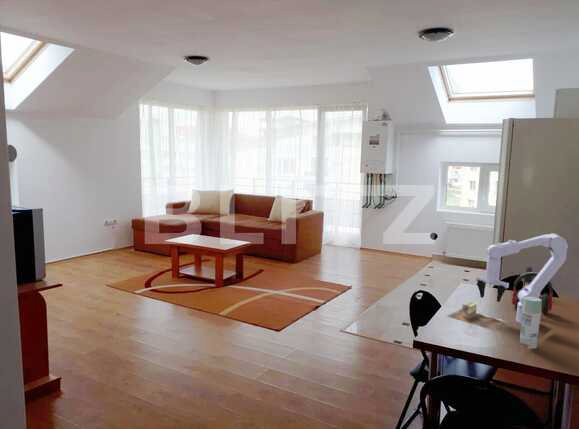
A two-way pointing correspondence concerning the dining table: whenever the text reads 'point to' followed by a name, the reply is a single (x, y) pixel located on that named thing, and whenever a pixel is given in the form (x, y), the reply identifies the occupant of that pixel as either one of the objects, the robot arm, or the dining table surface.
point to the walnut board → (479, 320)
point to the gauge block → (469, 310)
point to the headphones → (545, 299)
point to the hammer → (528, 278)
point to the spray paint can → (530, 321)
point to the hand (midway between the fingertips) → (490, 299)
